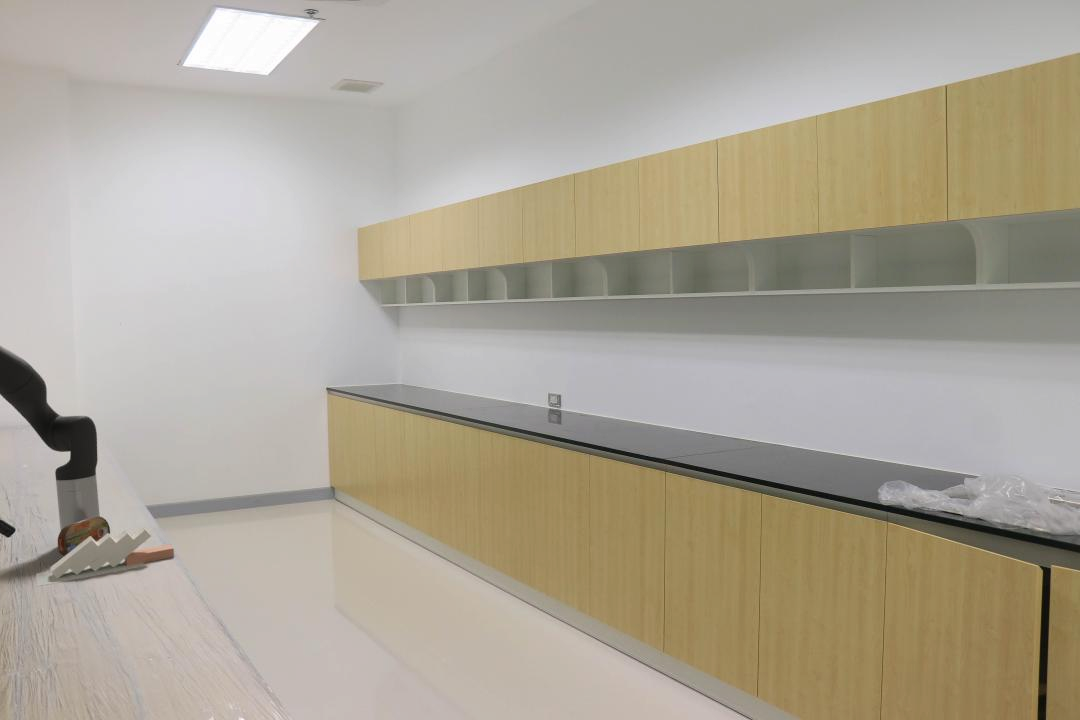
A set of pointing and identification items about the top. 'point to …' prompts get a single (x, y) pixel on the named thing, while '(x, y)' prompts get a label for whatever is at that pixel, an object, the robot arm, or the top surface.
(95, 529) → the tin
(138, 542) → the domino
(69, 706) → the top surface
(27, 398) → the robot arm
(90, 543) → the domino
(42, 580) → the mat
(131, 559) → the domino
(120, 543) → the domino
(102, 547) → the domino
